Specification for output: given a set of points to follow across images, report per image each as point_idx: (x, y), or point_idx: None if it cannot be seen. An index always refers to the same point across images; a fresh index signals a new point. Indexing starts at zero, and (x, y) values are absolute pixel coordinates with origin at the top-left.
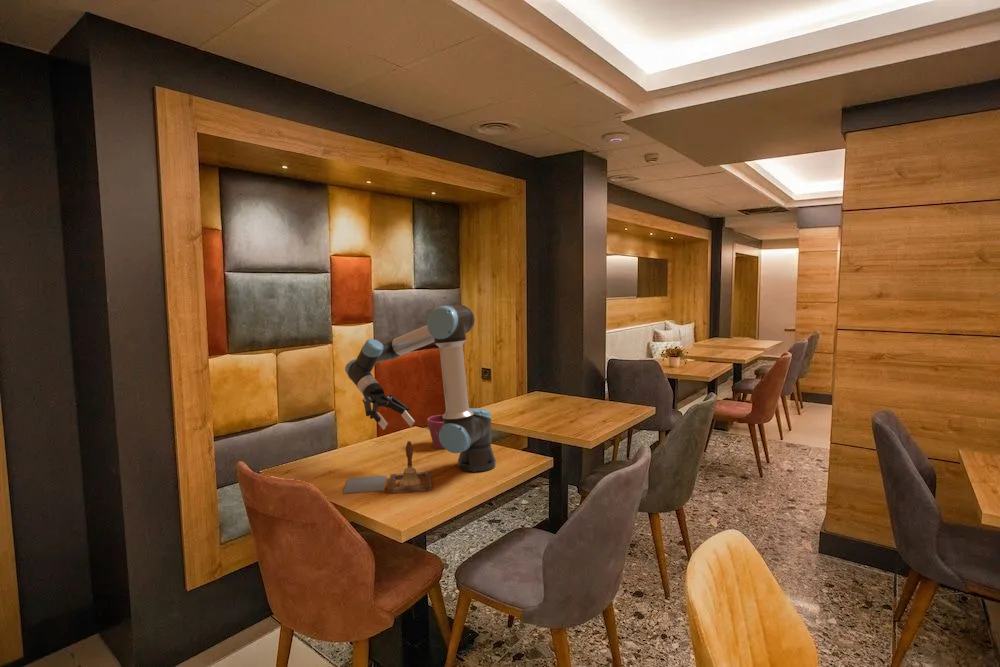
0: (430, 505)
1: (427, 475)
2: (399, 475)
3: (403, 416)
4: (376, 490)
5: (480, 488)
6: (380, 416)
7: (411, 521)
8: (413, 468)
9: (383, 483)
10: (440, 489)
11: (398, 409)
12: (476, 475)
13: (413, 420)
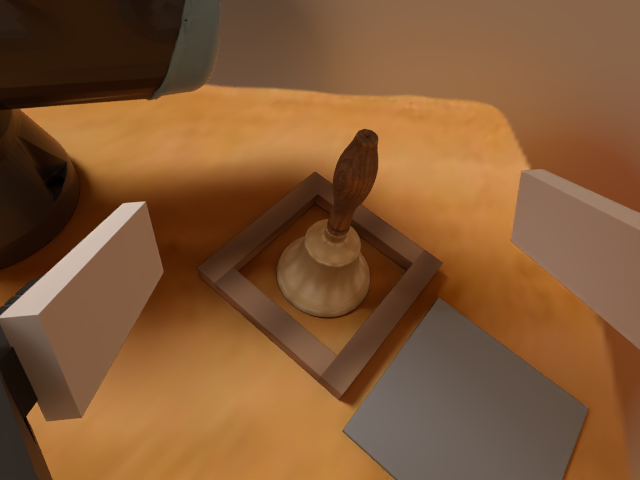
0: (382, 129)
1: (243, 246)
2: (322, 343)
3: (96, 361)
4: (463, 316)
5: (201, 94)
6: (633, 211)
7: (467, 114)
8: (321, 227)
9: (407, 354)
10: (284, 168)
11: (39, 465)
12: (102, 149)
13: (128, 207)
